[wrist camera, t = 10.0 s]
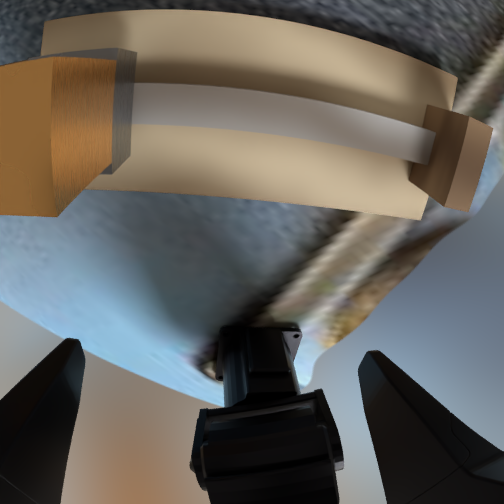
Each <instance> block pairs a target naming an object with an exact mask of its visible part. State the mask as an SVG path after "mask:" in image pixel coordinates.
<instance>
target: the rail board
mask: <svg viewBox="0 0 504 504" xmlns="http://www.w3.org/2000/svg"><path fill="white" fill-rule="evenodd" d="M104 48H122V49H126V50H130V51H134V52H137V61H136V70H135V81H134V93H133V108H132V126H131V156H130V157H129V158H128V159H127V160H126V161H125V162H124V163H123V164H122V165H121V166H120V167H119V168H118V169H117V170H116V171H115V172H114V173H113V174H112V175H103V174H99V175H98V176H97V177H96V178H95V179H94V180H93V181H92V182H91V183H90V184H89V185H88V186H87V187H86V188H85V189H90V190H118V191H140V192H158V193H175V194H190V195H204V196H217V197H229V198H241V199H252V200H263V201H273V202H283V203H292V204H302V205H311V206H319V207H328V208H336V209H344V210H352V211H359V212H367V213H374V214H381V215H388V216H395V217H402V218H409V219H415V220H421V218H422V215H423V212H424V209H425V206H426V203H427V200H428V196H430V197H432V198H433V199H434V200H436V201H437V202H438V203H440V204H441V205H442V206H444V207H447V208H452V209H457V210H461V211H466V212H469V209H470V206H471V203H472V200H473V197H474V194H475V191H476V188H477V185H478V182H479V179H480V175H481V172H482V169H483V165H484V162H485V158H486V155H487V151H488V147H489V143H490V139H491V135H492V131H493V128H492V127H490V126H488V125H486V124H484V123H482V122H480V121H477V120H475V119H473V118H471V117H469V116H465V115H462V114H459V113H456V112H453V111H451V110H452V105H453V100H454V95H455V90H456V84H457V79H458V78H457V77H455V76H453V75H451V74H449V73H447V72H445V71H443V70H441V69H438V68H436V67H434V66H432V65H429V64H427V63H425V62H422V61H420V60H417V59H415V58H413V57H410V56H408V55H405V54H402V53H400V52H397V51H394V50H392V49H389V48H386V47H383V46H380V45H377V44H374V43H371V42H368V41H365V40H362V39H359V38H355V37H352V36H348V35H345V34H341V33H338V32H334V31H330V30H326V29H322V28H318V27H314V26H309V25H305V24H300V23H295V22H290V21H285V20H279V19H273V18H267V17H260V16H253V15H245V14H237V13H227V12H216V11H200V10H130V11H116V12H104V13H95V14H87V15H79V16H72V17H66V18H60V19H55V20H49V21H45V23H44V30H43V38H42V47H41V56H44V55H50V54H57V53H64V52H72V51H81V50H91V49H104ZM25 61H28V60H24V61H19V62H25ZM19 62H14V63H10V64H15V63H19ZM10 64H5V65H10ZM5 65H1V66H5ZM1 66H0V67H1Z"/></svg>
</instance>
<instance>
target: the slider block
mask: <svg viewBox="0 0 504 504" xmlns="http://www.w3.org/2000/svg"><path fill="white" fill-rule="evenodd" d="M136 61H137V52H134V51H130V50H126V49H122V48H104V49H91V50H81V51H72V52H64V53H57V54H50V55H44V56H38V57H32V58H28V61H25V62H19V63H15V64H10V65H5V66H1V67H0V215H17V216H41V217H58V216H59V215H60V214H61V212H62V211H63V210H64V209H65V208H66V207H67V206H68V205H69V204H70V203H71V202H72V201H73V200H74V199H75V198H76V197H77V196H78V195H79V194H80V193H81V192H82V191H83V190H84V189H85V188H86V187H87V186H88V185H89V184H90V183H91V182H92V181H93V180H94V179H95V178H96V177H97V176H98V175H99V174H103V175H112V174H113V173H114V172H115V171H116V170H117V169H118V168H119V167H120V166H121V165H122V164H123V163H124V162H125V161H126V160H127V159H128V158H129V157H130V156H131V126H132V108H133V93H134V81H135V70H136Z"/></svg>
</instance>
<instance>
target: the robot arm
mask: <svg viewBox="0 0 504 504" xmlns="http://www.w3.org/2000/svg"><path fill="white" fill-rule="evenodd" d="M225 332H228V333H225ZM295 334H296V335H295ZM301 338H302V332H301V330H300V329H298V328H258V327H231V326H225V327H222V328H221V329H220V332H219V342H218V352H217V363H216V373H215V377H216V379H217V380H218V381H223V385H224V405H225V407H224V408H216V409H208V408H206V409H200V412H199V418H198V419H197V424H196V431H195V436H194V443H193V448H192V455H191V461H190V469H191V470H192V471H193V472H194V473H195V474H196V477H197V481H198V483H199V485H200V487H201V488H202V490H204V491H207V492H208V495H209V499H210V503H211V504H339V493H338V486H337V480H336V473H335V471H338V470H342V469H343V468H344V458H343V450H342V445H341V440H340V436H339V433H338V429H337V427H336V423H335V421H334V418H333V416H332V413H331V411H330V408H329V405H328V403H327V400H326V398H325V395H324V393H323V390H322V389H317V390H314V392H309V393H305V394H301V392H300V388H299V384H298V380H297V376H296V371H295V367H294V363H293V362H294V359H295V356H296V353H297V350H298V347H299V344H300V341H301ZM84 369H85V355H84V352H83V349H82V346H81V343H80V341H79V340H78V339H74V338H66V339H65V340H64V341H62V342H61V343H60V344H59V345H58V346H57V347H56V348H55V349H54V350H53V351H52V352H50V353H49V354H48V355H47V356H46V357H45V358H44V359H43V360H42V361H41V362H40V363H38V364H37V366H35V367H34V368H33V369H32V370H31V371H30V372H29V373H28V374H27V375H26V376H25V377H24V378H23V379H21V380H20V382H18V383H17V384H16V385H15V386H14V387H13V388H12V389H11V390H10V391H9V392H8V393H7V394H6V395H5V396H4V397H3V398H2V399H1V400H0V504H60V503H61V495H62V488H63V483H64V477H65V471H66V465H67V460H68V455H69V449H70V445H71V439H72V435H73V431H74V426H75V421H76V418H77V413H78V409H79V403H80V396H81V388H82V382H83V375H84ZM358 376H359V382H360V388H361V394H362V400H363V405H364V406H363V407H364V412H365V416H366V420H367V423H368V427H369V431H370V435H371V438H372V442H373V446H374V450H375V454H376V458H377V462H378V466H379V470H380V475H381V479H382V483H383V487H384V491H385V496H386V501H387V504H504V451H502V450H500V449H498V448H497V447H495V446H494V445H493V444H491V443H490V442H488V441H487V440H486V439H484V438H483V437H481V436H480V435H479V434H477V433H476V432H475V431H473V430H472V429H470V428H469V427H468V426H467V425H465V424H464V423H463V422H462V421H461V420H459V419H458V418H457V417H456V416H455V415H454V414H452V413H450V411H449V410H448V409H447V408H445V407H444V406H443V405H442V404H441V403H440V402H438V401H437V400H436V399H435V398H434V397H433V396H432V395H430V394H429V393H428V392H427V391H426V390H425V389H424V388H422V387H421V386H420V385H419V384H418V383H417V382H415V381H414V380H413V379H412V378H411V377H410V376H409V375H407V374H406V373H405V372H404V371H403V370H402V369H400V368H399V367H398V366H397V365H396V364H394V363H393V362H392V361H391V360H390V359H389V358H388V357H386V356H385V355H384V354H383V353H382V352H380V351H378V350H373V351H368V352H366V354H365V356H364V358H363V360H362V362H361V364H360V365H359V368H358Z"/></svg>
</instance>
